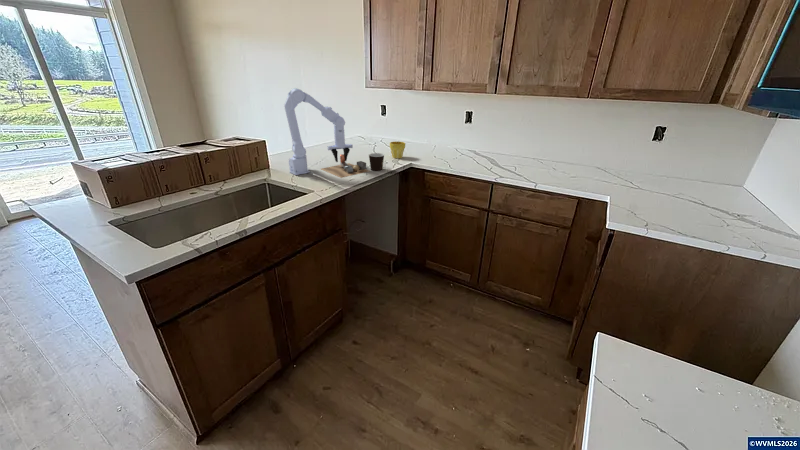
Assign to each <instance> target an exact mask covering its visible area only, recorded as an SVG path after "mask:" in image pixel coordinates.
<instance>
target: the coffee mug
mask: <svg viewBox="0 0 800 450" xmlns="http://www.w3.org/2000/svg"><path fill="white" fill-rule="evenodd" d="M384 157H385V154H384V153H380V152H373V153H372V152H371V153H369V154H368V158H369V166H370V171H371V172H372V171H373V172H382V171H383V170H384V169H383V168H384V167H383V166H384Z"/></svg>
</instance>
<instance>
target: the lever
mask: <svg viewBox="0 0 800 450" xmlns="http://www.w3.org/2000/svg"><path fill="white" fill-rule="evenodd" d="M339 160H340V161H339V162H340V165H341V166H342V167H343V168H344V169H345V171H346V172H347V173H353V168H352V166H351V165H348V164H347V162H346V161H345V155H344V153H343V154H339Z"/></svg>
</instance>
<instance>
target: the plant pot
mask: <svg viewBox="0 0 800 450" xmlns="http://www.w3.org/2000/svg"><path fill="white" fill-rule="evenodd" d="M389 148H390V152H391V157H392V158H393V159H402V158H403V155H404V152H405V148H406V142H403V141H390V142H389Z"/></svg>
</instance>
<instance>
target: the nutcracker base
mask: <svg viewBox="0 0 800 450" xmlns="http://www.w3.org/2000/svg"><path fill="white" fill-rule="evenodd" d="M346 164H348V165H351V166H352V168H353V166H354V165H355V164H353V163H347V162H346ZM356 165H358V166H359V168H360V169H359V170H357V171H354V170H353V173H347V172H346V171H345V169H344V168H343V167H342V166H341V164H337V165H332V166H327V167H322V168H320V170H322V171H324V172H326V173H329V174H331V175H333V176H336V177H339V178H341V179H342V178H343V179H344V178H346V177H351V176H355V175H360V174H365V173H369V172H371V170H369V169H367V163H366V162H365V161H362V160H359V161H356Z"/></svg>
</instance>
